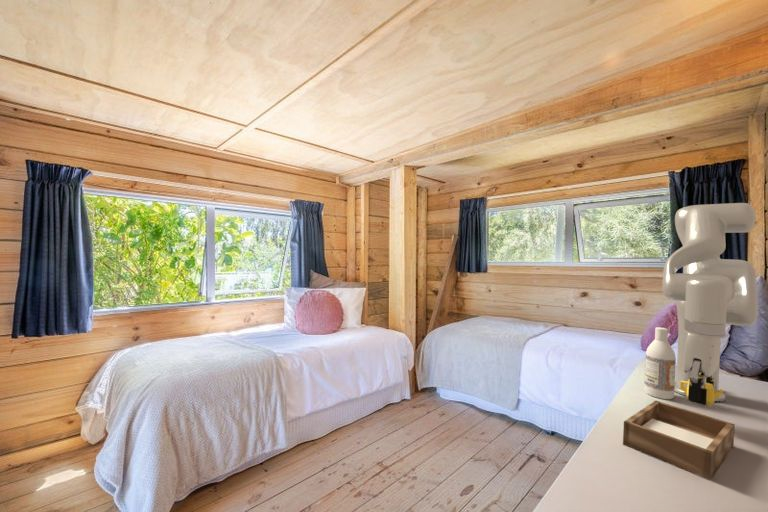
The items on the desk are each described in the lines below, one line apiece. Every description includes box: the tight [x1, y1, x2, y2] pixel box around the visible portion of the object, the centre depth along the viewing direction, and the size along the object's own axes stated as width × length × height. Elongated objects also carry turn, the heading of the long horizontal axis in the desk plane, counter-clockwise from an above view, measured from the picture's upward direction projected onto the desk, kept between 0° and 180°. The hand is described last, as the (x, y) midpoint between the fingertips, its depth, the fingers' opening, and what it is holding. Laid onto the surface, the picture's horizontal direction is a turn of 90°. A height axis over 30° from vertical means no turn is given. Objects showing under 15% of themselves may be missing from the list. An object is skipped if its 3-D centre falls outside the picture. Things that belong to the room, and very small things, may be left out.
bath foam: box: [643, 326, 677, 400], centre depth 103 cm, size 7×7×20 cm
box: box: [622, 400, 735, 481], centre depth 75 cm, size 20×14×5 cm
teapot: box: [680, 379, 725, 407], centre depth 86 cm, size 8×6×5 cm
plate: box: [643, 419, 714, 449], centre depth 74 cm, size 9×11×2 cm
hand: (700, 398), depth 86 cm, fingers closed on teapot, 6 cm apart
